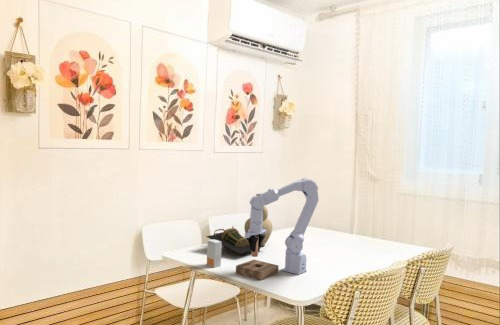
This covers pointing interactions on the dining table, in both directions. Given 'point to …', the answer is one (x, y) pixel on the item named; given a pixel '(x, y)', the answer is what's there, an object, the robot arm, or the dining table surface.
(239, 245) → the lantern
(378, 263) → the dining table surface
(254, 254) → the peg
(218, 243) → the skincare box
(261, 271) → the socket block
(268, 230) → the vase
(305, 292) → the dining table surface
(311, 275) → the dining table surface
